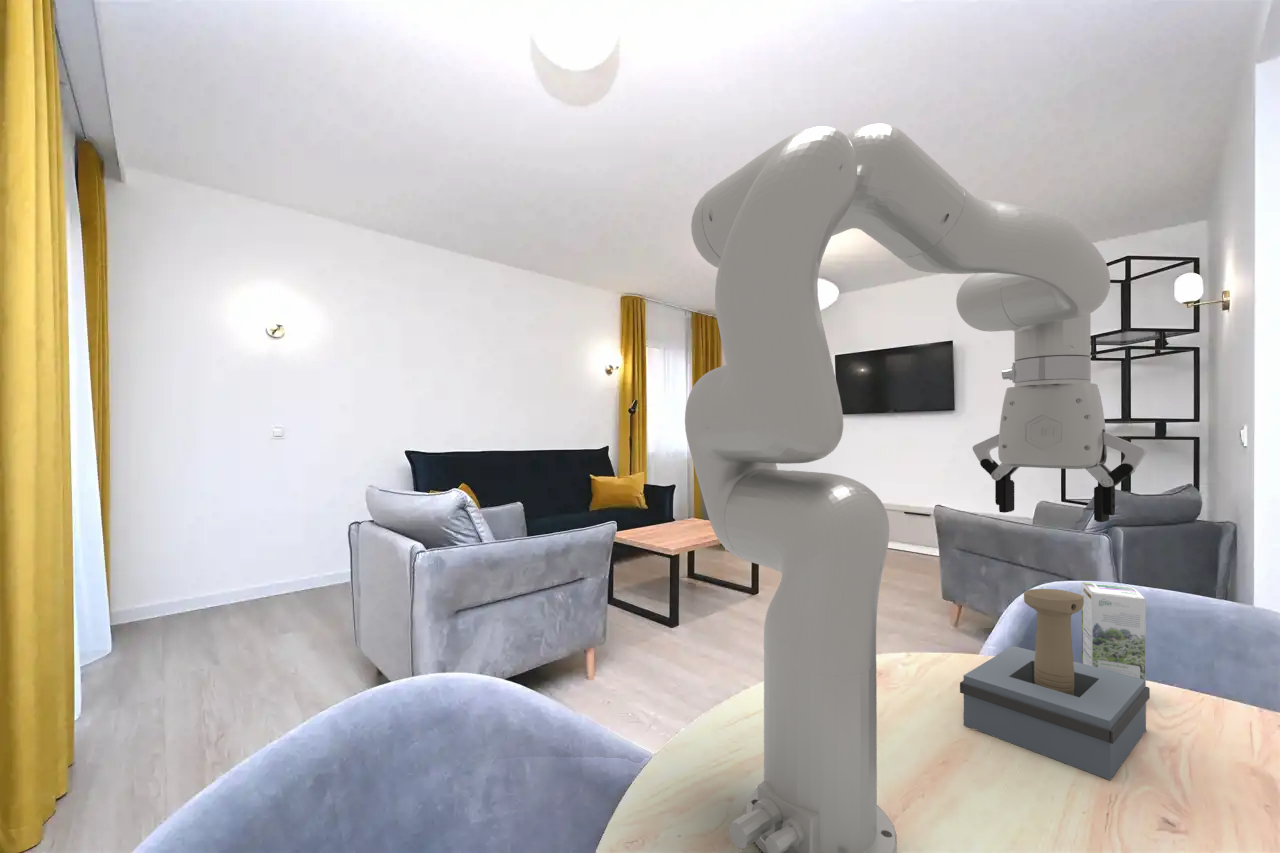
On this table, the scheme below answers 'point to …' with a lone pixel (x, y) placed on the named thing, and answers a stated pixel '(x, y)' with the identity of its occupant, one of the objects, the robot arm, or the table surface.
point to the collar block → (1058, 711)
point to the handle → (1054, 637)
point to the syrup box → (1114, 629)
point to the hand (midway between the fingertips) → (1051, 516)
